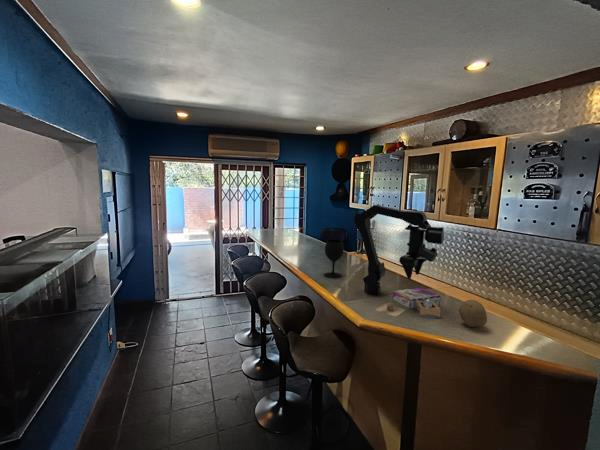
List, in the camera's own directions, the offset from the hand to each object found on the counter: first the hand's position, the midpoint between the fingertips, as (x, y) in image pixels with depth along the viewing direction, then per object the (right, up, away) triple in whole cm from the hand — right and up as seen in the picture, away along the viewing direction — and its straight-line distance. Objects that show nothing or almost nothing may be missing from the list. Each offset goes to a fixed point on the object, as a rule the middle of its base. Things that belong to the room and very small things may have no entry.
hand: (413, 276), depth 126 cm
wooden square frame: (+2, -12, -10) cm, 16 cm away
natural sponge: (+15, -16, -17) cm, 27 cm away
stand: (-12, -13, -7) cm, 19 cm away
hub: (+2, -14, -9) cm, 17 cm away
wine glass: (-30, -7, +40) cm, 50 cm away
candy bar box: (+10, -10, +5) cm, 15 cm away
